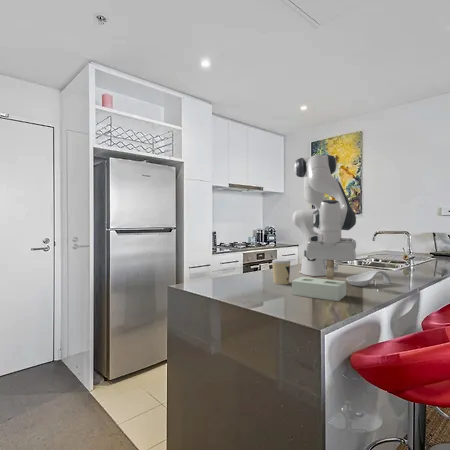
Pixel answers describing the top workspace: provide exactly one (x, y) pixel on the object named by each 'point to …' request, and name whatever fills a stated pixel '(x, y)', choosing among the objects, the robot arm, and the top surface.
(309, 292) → the hole block
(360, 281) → the spoon rest
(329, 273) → the peg
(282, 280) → the coffee cup
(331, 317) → the top surface
